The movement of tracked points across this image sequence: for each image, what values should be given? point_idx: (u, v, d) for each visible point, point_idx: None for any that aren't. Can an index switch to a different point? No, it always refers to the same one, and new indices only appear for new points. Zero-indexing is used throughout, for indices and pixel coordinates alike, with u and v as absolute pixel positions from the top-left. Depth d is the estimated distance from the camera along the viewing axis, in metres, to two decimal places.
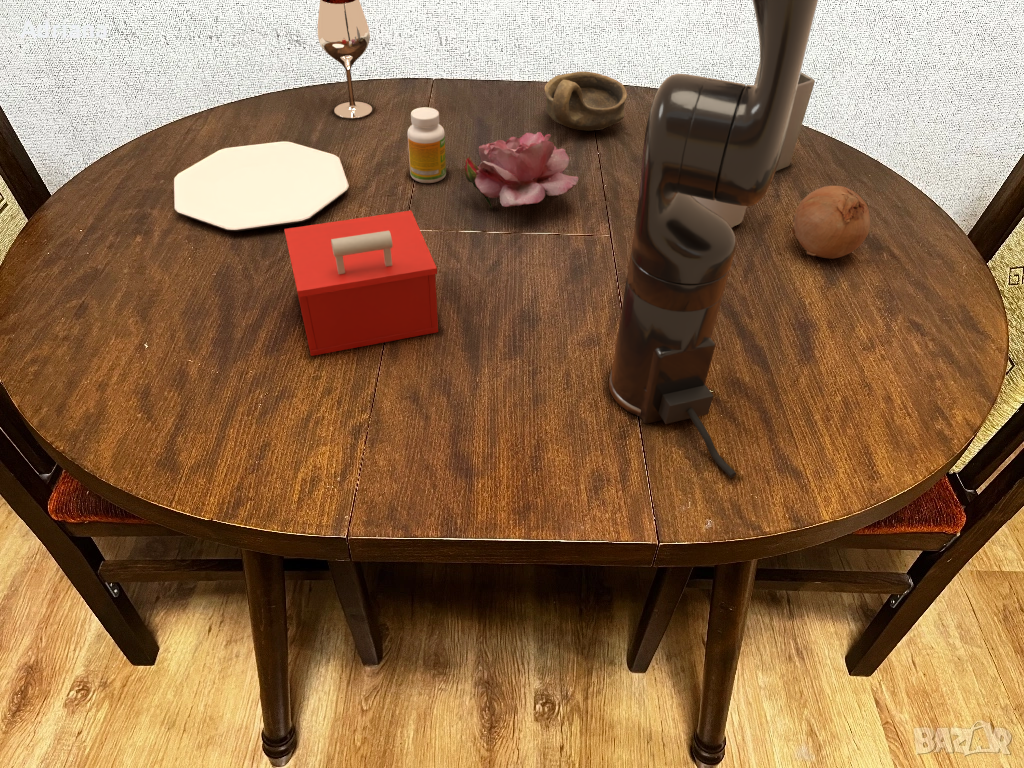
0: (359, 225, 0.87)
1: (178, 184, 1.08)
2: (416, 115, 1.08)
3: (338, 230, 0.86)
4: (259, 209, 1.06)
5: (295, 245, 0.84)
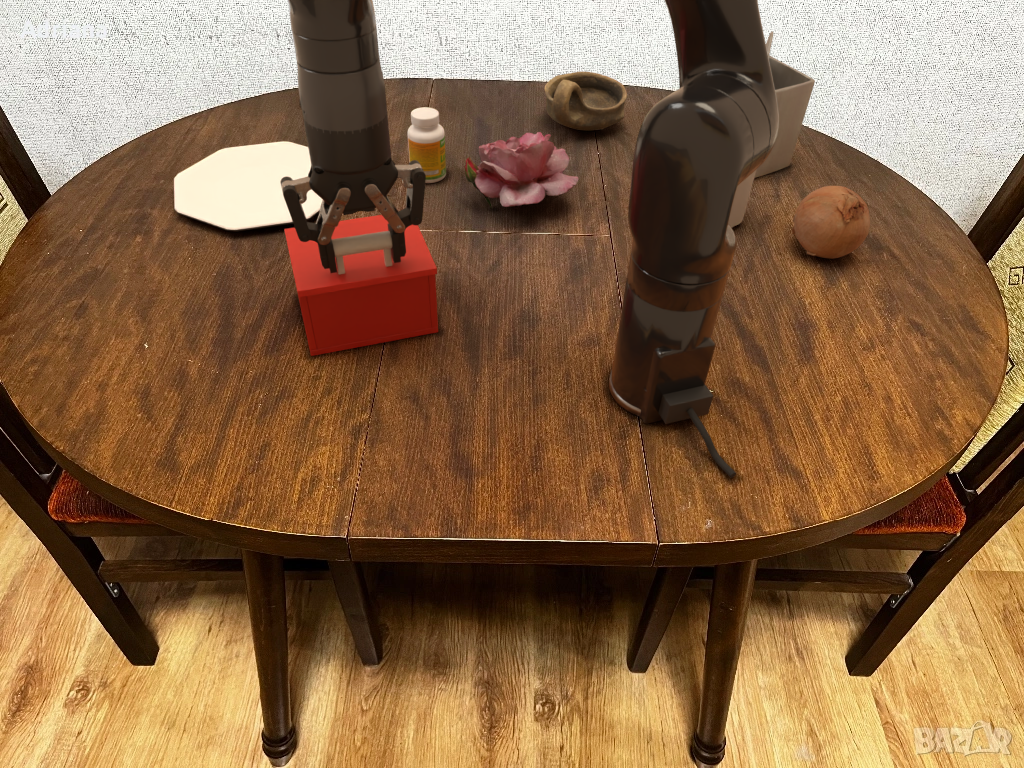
0: (359, 225, 0.87)
1: (178, 184, 1.08)
2: (416, 115, 1.08)
3: (338, 230, 0.86)
4: (259, 209, 1.06)
5: (295, 245, 0.84)
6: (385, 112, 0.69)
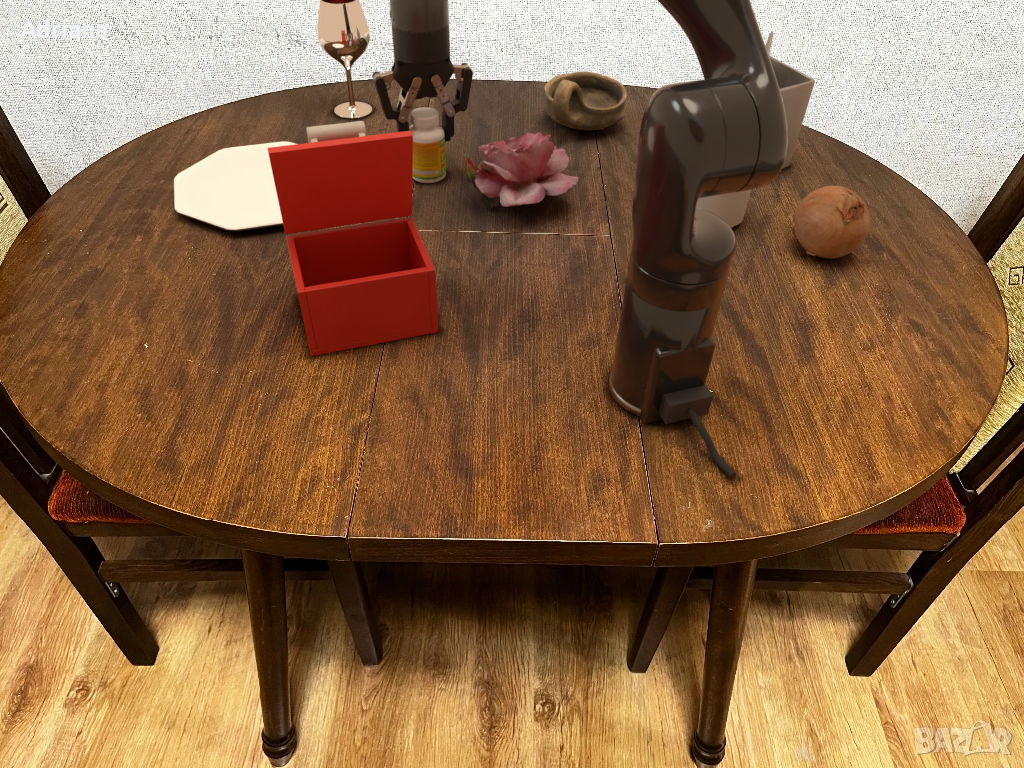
0: None
1: (178, 184, 1.08)
2: (416, 115, 1.08)
3: None
4: (259, 209, 1.06)
5: None
6: (448, 21, 0.99)
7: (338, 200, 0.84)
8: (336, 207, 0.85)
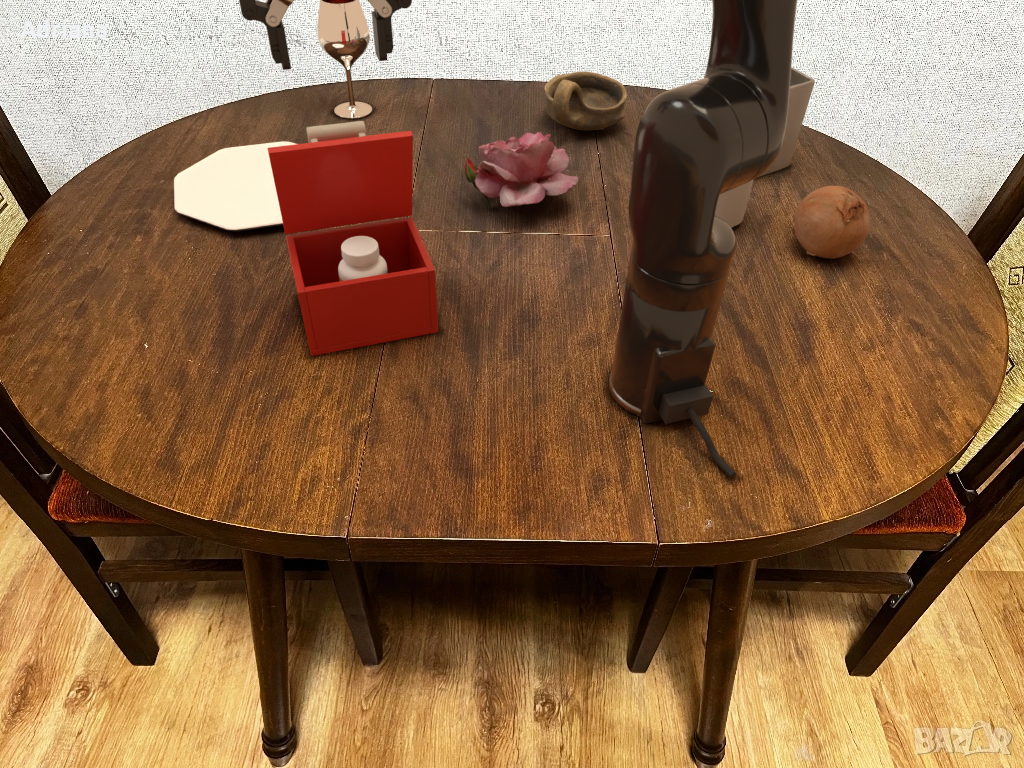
0: None
1: (178, 184, 1.08)
2: (348, 250, 0.82)
3: None
4: (259, 209, 1.06)
5: None
6: None
7: (338, 200, 0.84)
8: (336, 207, 0.85)
